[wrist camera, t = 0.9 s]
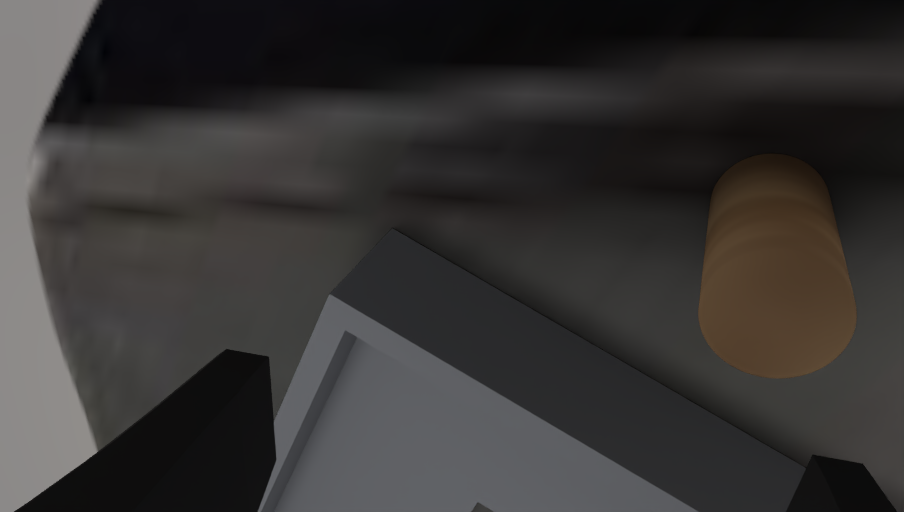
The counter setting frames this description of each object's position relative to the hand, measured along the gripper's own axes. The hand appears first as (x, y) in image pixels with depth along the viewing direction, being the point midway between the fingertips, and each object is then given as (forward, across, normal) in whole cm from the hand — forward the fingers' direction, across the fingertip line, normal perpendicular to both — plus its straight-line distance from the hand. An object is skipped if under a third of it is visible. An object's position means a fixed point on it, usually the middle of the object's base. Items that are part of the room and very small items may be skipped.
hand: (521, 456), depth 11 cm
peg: (+12, -6, +2) cm, 14 cm away
